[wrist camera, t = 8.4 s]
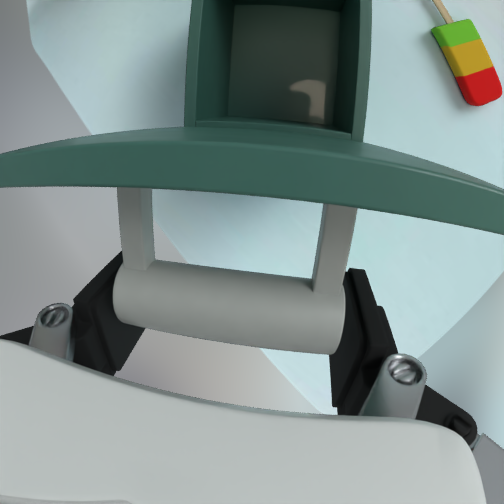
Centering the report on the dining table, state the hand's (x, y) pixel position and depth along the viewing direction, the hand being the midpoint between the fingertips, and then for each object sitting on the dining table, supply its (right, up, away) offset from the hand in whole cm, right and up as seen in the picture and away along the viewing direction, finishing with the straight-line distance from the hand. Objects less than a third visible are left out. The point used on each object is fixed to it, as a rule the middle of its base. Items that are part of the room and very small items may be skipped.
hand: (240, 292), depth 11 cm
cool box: (+4, +20, +13) cm, 24 cm away
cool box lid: (+1, +6, 0) cm, 6 cm away
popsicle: (+22, +24, +9) cm, 33 cm away
